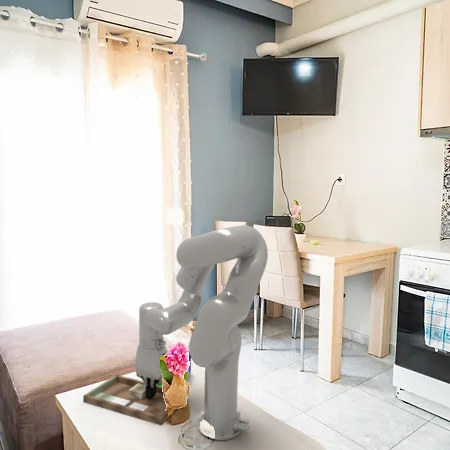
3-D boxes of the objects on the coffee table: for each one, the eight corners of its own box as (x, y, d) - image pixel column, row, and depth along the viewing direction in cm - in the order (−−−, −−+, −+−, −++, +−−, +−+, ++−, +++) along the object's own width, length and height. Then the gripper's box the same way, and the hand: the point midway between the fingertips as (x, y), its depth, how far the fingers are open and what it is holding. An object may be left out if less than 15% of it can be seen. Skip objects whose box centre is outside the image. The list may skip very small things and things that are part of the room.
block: (150, 393, 134) (150, 386, 134) (141, 400, 129) (141, 393, 129) (138, 390, 136) (138, 383, 136) (128, 397, 131) (128, 390, 131)
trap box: (188, 403, 131) (188, 393, 131) (160, 430, 117) (160, 418, 116) (116, 384, 143) (116, 374, 143) (83, 406, 128) (83, 395, 128)
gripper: (177, 342, 129) (176, 396, 131) (139, 334, 135) (138, 386, 137) (164, 350, 123) (164, 408, 124) (124, 341, 129) (124, 396, 130)
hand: (151, 396), depth 131 cm, fingers closed
